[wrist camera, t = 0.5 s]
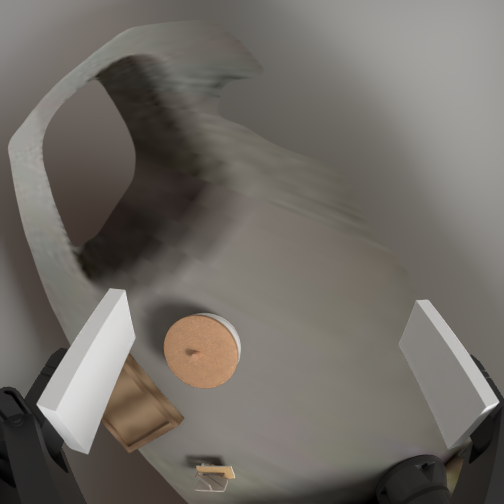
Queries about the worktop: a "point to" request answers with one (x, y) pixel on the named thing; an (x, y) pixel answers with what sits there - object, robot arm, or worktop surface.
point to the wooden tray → (138, 409)
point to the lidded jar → (202, 350)
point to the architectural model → (213, 477)
